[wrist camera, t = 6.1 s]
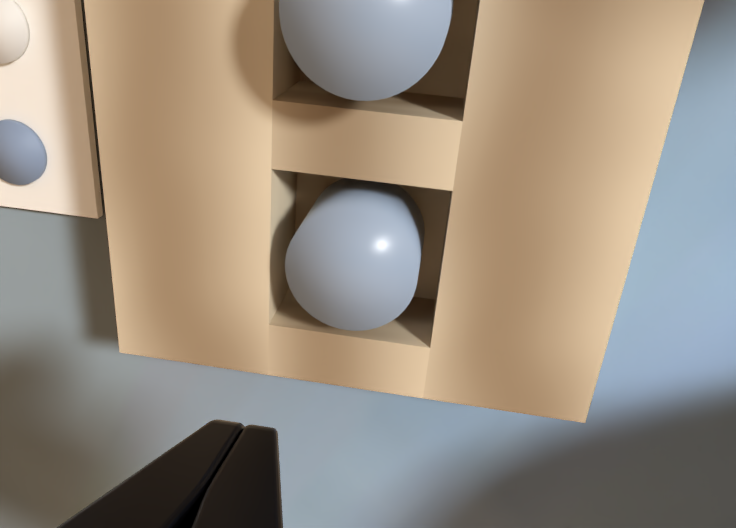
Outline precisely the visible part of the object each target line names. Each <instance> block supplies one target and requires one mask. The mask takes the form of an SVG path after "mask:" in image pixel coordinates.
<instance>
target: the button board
mask: <svg viewBox="0 0 736 528" xmlns="http://www.w3.org/2000/svg"><path fill="white" fill-rule="evenodd" d="M703 4H704V0H453V13H452V18H451V23H450V26H449V29H448V33H447V36H446V39H445V42H444V45H443V47H442V50H441V52H440V54H439V56H438V58H437V59H436V61H435V62H434V64H433V66H432V67H431V68H430V69H429V70H428V72H427V73H426V74H425V75H424V76H423V77H422V78H421V79H420V80H419V81H418V82H417V83H415V84H414V85H412V86H411V87H410V88H408V89H407V90H405V91H403V92H401V93H399V94H397V95H394V96H391V97H389V98H385V99H380V100H373V101H357V100H351V99H346V98H343V97H340V96H336V95H334V94H332V93H330V92H328V91H326V90H324V89H323V88H321V87H320V86H318V85H317V84H315V83H314V82H313V81H312V80H311V79H309V78H308V77H307V76H306V75H305V73H304V72H303V71H302V70H301V69H300V68H299V66H298V65H297V64H296V62H295V61H294V59H293V57H292V56H291V54H290V52H289V50H288V48H287V45H286V43H285V40H284V37H283V34H282V30H281V25H280V18H279V0H84V6H85V16H86V25H87V35H88V45H89V55H90V65H91V75H92V85H93V94H94V104H95V114H96V124H97V134H98V144H99V154H100V163H101V173H102V183H103V193H104V203H105V213H106V223H107V232H108V242H109V252H110V262H111V272H112V282H113V292H114V302H115V311H116V321H117V331H118V341H119V351H120V352H121V353H127V354H134V355H140V356H147V357H154V358H160V359H167V360H173V361H180V362H187V363H193V364H200V365H206V366H213V367H220V368H226V369H233V370H239V371H246V372H253V373H259V374H266V375H272V376H279V377H286V378H292V379H299V380H305V381H312V382H319V383H325V384H332V385H338V386H345V387H352V388H358V389H365V390H371V391H378V392H385V393H391V394H398V395H404V396H411V397H418V398H424V399H431V400H437V401H444V402H451V403H457V404H464V405H470V406H477V407H484V408H490V409H497V410H503V411H510V412H517V413H523V414H530V415H536V416H543V417H550V418H556V419H563V420H569V421H576V422H583V423H585V421H586V418H587V414H588V411H589V407H590V404H591V400H592V397H593V393H594V390H595V386H596V382H597V379H598V375H599V372H600V368H601V365H602V361H603V358H604V354H605V351H606V347H607V343H608V340H609V336H610V333H611V329H612V326H613V322H614V319H615V315H616V312H617V308H618V305H619V301H620V297H621V294H622V290H623V287H624V283H625V280H626V276H627V273H628V269H629V266H630V262H631V258H632V255H633V251H634V248H635V244H636V241H637V237H638V234H639V230H640V227H641V223H642V220H643V216H644V212H645V209H646V205H647V202H648V198H649V195H650V191H651V188H652V184H653V181H654V177H655V174H656V170H657V166H658V163H659V159H660V156H661V152H662V149H663V145H664V142H665V138H666V135H667V131H668V127H669V124H670V120H671V117H672V113H673V110H674V106H675V103H676V99H677V96H678V92H679V89H680V85H681V81H682V78H683V74H684V71H685V67H686V64H687V60H688V57H689V53H690V50H691V46H692V42H693V39H694V35H695V32H696V28H697V25H698V21H699V18H700V14H701V11H702V7H703ZM343 178H350V179H359V180H367V181H375V182H383V183H392V184H397V185H399V186H400V187H402V188H403V189H404V190H405V191H406V192H407V193H408V194H409V195H410V196H411V197H412V198H413V199H414V201H415V202H416V204H417V206H418V207H419V209H420V212H421V214H422V217H423V221H424V229H425V235H424V243H423V249H422V256H421V262H420V268H419V274H418V280H417V286H416V290H415V293H414V296H413V298H412V300H411V302H410V303H409V305H408V306H407V308H406V309H405V310H404V311H403V312H402V313H401V314H400V315H399V316H398V317H397V318H395V319H394V320H392V321H391V322H389V323H387V324H385V325H383V326H380V327H378V328H374V329H370V330H363V331H351V330H343V329H338V328H335V327H332V326H329V325H327V324H325V323H322V322H321V321H319V320H317V319H316V318H314V317H313V316H311V315H310V314H309V313H308V312H307V311H306V310H305V309H303V308H302V306H301V305H300V304H299V303H298V302H297V300H296V299H295V297H294V296H293V294H292V292H291V290H290V288H289V285H288V282H287V278H286V273H285V258H286V253H287V249H288V246H289V244H290V241H291V240H292V238H293V236H294V235H295V233H296V232H297V230H298V228H299V227H300V225H301V224H302V222H303V221H304V219H305V217H306V216H307V214H308V213H309V211H310V210H311V208H312V206H313V205H314V203H315V202H316V200H317V198H318V197H319V196H320V195H321V193H322V192H323V191H324V190H325V189H326V188H327V187H329V186H330V185H331V184H333V183H334V182H336V181H338V180H340V179H343Z"/></svg>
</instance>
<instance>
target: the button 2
mask: <svg viewBox="0 0 736 528" xmlns="http://www.w3.org/2000/svg"><path fill="white" fill-rule="evenodd" d="M424 235H425V229H424V221H423V217H422V214H421V212H420V209H419V207H418V206H417V204H416V202H415V201H414V199H413V198H412V197H411V196H410V195H409V194H408V193H407V192H406V191H405V190H404V189H403V188H402V187H400V186H399V185H397V184H392V183H383V182H375V181H367V180H359V179H350V178H343V179H340V180H338V181H336V182H334V183H333V184H331V185H330V186H329V187H327V188H326V189H325V190H324V191H323V192H322V193H321V195H320V196H319V197H318V198H317V200H316V202H315V203H314V205H313V206H312V208H311V210H310V211H309V213H308V214H307V216H306V217H305V219H304V221H303V222H302V224H301V225H300V227H299V228H298V230H297V232H296V233H295V235H294V236H293V238H292V240H291V241H290V244H289V246H288V249H287V253H286V258H285V273H286V278H287V282H288V285H289V288H290V290H291V292H292V294H293V296H294V297H295V299H296V300H297V302H298V303H299V304H300V305H301V306H302V308H303V309H305V310H306V311H307V312H308V313H309V314H310V315H311V316H313V317H314V318H316V319H317V320H319V321H321V322H322V323H325V324H327V325H329V326H332V327H335V328H338V329H343V330H351V331H363V330H370V329H374V328H378V327H380V326H383V325H385V324H387V323H389V322H391V321H392V320H394V319H395V318H397V317H398V316H399V315H400V314H401V313H402V312H403V311H404V310H405V309H406V308H407V306H408V305H409V303H410V302H411V300H412V298H413V296H414V293H415V290H416V286H417V280H418V274H419V268H420V262H421V256H422V249H423V243H424Z"/></svg>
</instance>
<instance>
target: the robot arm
mask: <svg viewBox="0 0 736 528" xmlns="http://www.w3.org/2000/svg"><path fill="white" fill-rule="evenodd" d="M57 528H283V518H282V500H281V483H280V465H279V448H278V433H277V431H276V429H274V428H270V427H264V426H257V425H248V426H246V427H245V426H244V425H242V424H241V423H237V422H231V421H224V420H213V421H210V422H209V423H207V424H206V425H204V426H203V427H201V428H200V429H199V430H197V431H196V432H194V433H193V434H191V435H190V436H188V437H187V438H186V439H184V440H183V441H181V442H180V443H178V444H177V445H175V446H174V447H173V448H171V449H170V450H168V451H167V452H165V453H164V454H162V455H161V456H160V457H158V458H157V459H155V460H154V461H152V462H151V463H149V464H148V465H147V466H145V467H144V468H142V469H141V470H139V471H138V472H136V473H135V474H134V475H132V476H131V477H129V478H128V479H126V480H125V481H123V482H122V483H120V484H119V485H118V486H116V487H115V488H113V489H112V490H110V491H109V492H107V493H106V494H105V495H103V496H102V497H100V498H99V499H97V500H96V501H94V502H93V503H92V504H90V505H89V506H87V507H86V508H84V509H83V510H81V511H80V512H79V513H77V514H76V515H74V516H73V517H71V518H70V519H68V520H67V521H66V522H64V523H63V524H61V525H60V526H58V527H57Z"/></svg>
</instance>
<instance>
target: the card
mask: <svg viewBox="0 0 736 528" xmlns="http://www.w3.org/2000/svg"><path fill="white" fill-rule="evenodd" d="M0 206H6V207H14V208H21V209H29V210H36V211H44V212H52V213H59V214H67V215H74V216H82V217H89V218H97V219H98V218H99V217H101V216H102V215H103V210H102V200H101V190H100V181H99V171H98V161H97V152H96V142H95V132H94V123H93V113H92V103H91V94H90V84H89V74H88V65H87V55H86V45H85V36H84V26H83V16H82V6H81V0H0Z"/></svg>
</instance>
